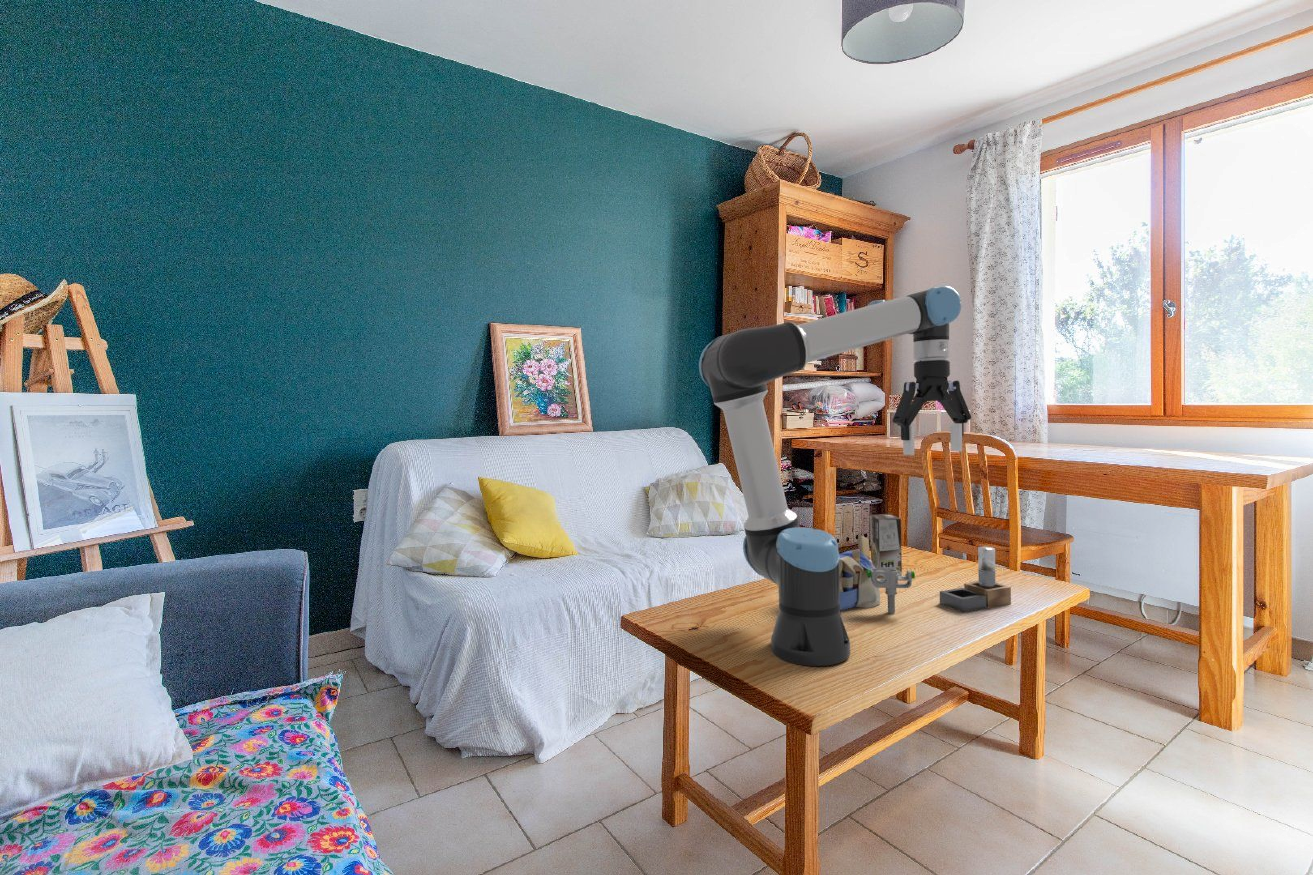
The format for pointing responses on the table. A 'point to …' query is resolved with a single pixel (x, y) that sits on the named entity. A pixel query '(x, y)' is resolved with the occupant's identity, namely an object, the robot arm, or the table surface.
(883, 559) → the grey printed carton
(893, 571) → the mechanical component
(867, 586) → the toy tool belt
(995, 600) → the open square brown box
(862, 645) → the table surface
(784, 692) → the table surface
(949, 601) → the socket
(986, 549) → the dome-ended metal rod
